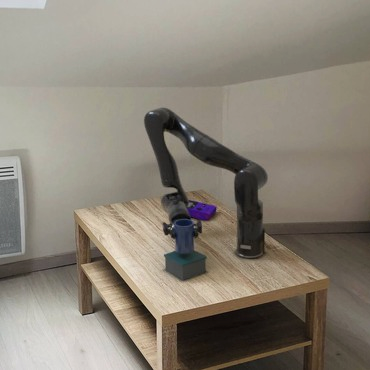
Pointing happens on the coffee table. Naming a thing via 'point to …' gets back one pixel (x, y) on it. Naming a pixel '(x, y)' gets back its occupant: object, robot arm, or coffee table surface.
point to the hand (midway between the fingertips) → (185, 236)
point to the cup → (184, 236)
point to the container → (185, 264)
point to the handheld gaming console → (200, 210)
